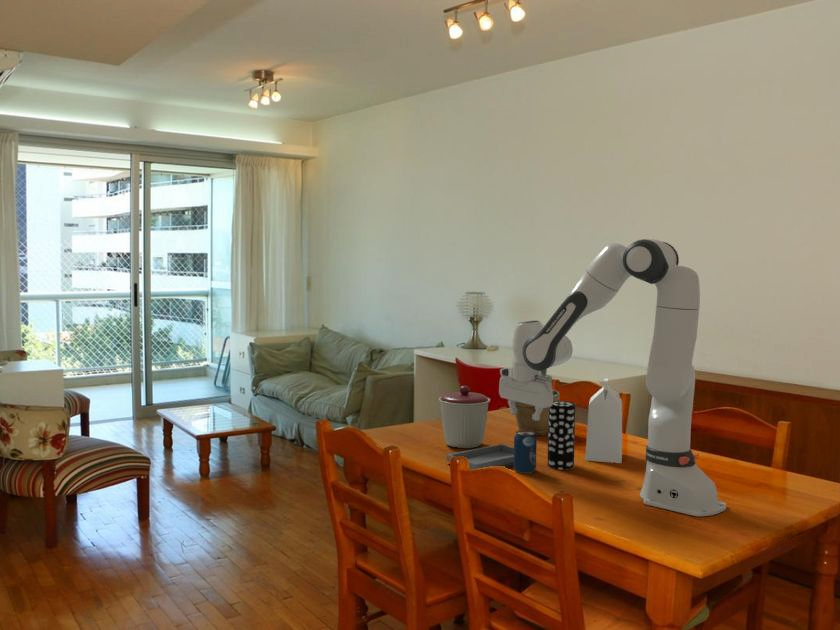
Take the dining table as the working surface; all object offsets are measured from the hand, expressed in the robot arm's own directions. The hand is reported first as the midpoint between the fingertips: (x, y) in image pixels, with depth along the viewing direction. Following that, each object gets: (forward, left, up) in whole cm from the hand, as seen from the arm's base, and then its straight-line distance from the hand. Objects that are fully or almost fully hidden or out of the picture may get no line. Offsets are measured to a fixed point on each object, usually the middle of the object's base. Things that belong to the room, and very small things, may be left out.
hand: (524, 417), depth 229 cm
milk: (-4, -33, -17) cm, 37 cm away
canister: (+35, -5, -17) cm, 39 cm away
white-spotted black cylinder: (-3, -13, -17) cm, 22 cm away
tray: (+13, +3, -17) cm, 21 cm away
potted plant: (+34, -39, -17) cm, 54 cm away
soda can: (0, 0, -17) cm, 17 cm away
